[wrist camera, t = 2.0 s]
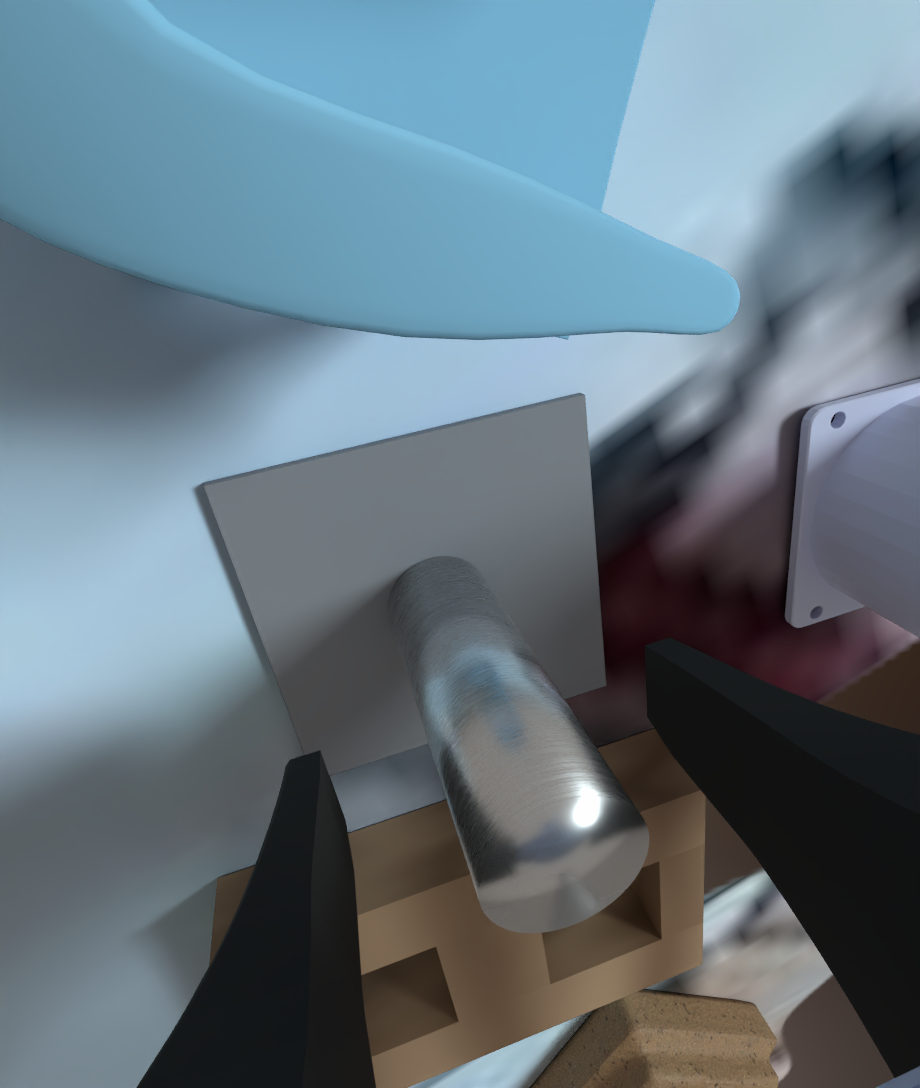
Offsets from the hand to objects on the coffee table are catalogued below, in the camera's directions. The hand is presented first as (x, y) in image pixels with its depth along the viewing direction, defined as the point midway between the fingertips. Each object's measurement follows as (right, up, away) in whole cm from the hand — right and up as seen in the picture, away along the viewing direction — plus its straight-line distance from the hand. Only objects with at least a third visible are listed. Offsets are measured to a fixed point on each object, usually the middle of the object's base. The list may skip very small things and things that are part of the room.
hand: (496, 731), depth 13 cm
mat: (-1, +2, +5) cm, 6 cm away
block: (0, -9, +11) cm, 14 cm away
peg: (-1, +2, +5) cm, 6 cm away
